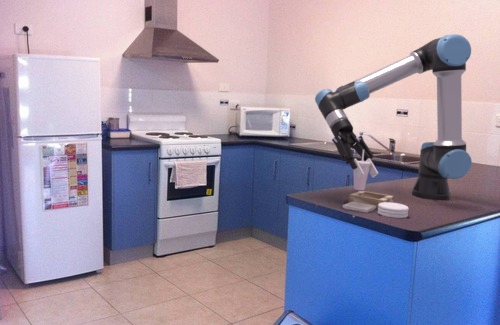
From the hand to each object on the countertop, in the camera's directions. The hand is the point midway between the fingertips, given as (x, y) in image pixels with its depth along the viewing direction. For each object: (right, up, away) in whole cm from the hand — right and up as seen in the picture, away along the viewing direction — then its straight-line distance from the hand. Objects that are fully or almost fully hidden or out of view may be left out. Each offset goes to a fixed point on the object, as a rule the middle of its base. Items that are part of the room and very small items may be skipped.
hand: (368, 175), depth 159 cm
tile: (-2, -12, +5) cm, 13 cm away
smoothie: (-2, -5, +4) cm, 7 cm away
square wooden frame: (+5, -11, +15) cm, 19 cm away
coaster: (+8, -14, -2) cm, 16 cm away
